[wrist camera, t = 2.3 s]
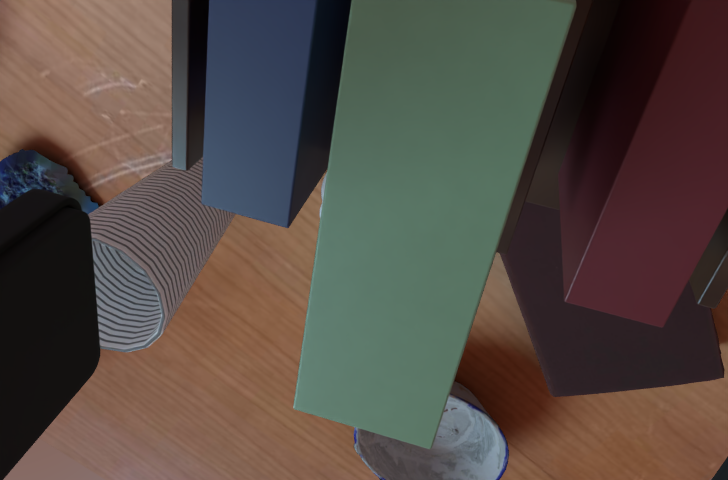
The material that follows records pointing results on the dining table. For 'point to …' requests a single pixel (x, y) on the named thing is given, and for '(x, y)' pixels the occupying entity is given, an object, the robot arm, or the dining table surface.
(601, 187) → the burgundy book
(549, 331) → the book
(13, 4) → the dining table surface
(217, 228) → the cup
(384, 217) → the green book
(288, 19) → the navy book
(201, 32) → the rack
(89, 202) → the rock
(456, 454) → the bowl
